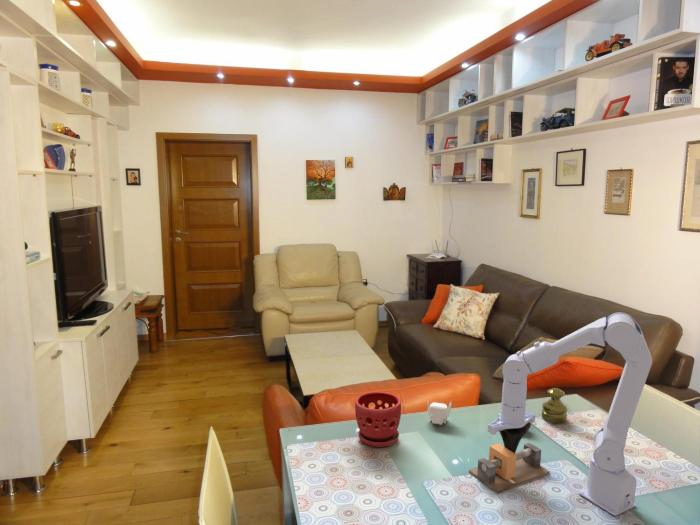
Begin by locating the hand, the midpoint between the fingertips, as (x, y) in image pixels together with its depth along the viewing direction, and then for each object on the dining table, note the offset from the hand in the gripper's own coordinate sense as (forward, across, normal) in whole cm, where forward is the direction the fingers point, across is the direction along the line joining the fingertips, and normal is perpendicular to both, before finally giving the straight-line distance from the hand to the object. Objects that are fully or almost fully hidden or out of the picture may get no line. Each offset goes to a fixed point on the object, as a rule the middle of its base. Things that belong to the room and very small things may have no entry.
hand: (509, 453), depth 128 cm
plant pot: (+6, +21, -30) cm, 37 cm away
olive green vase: (+6, -35, -15) cm, 39 cm away
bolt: (+6, -24, -20) cm, 32 cm away
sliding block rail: (+5, 0, 0) cm, 5 cm away
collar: (+5, +3, 0) cm, 6 cm away
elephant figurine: (+6, -1, -30) cm, 31 cm away
